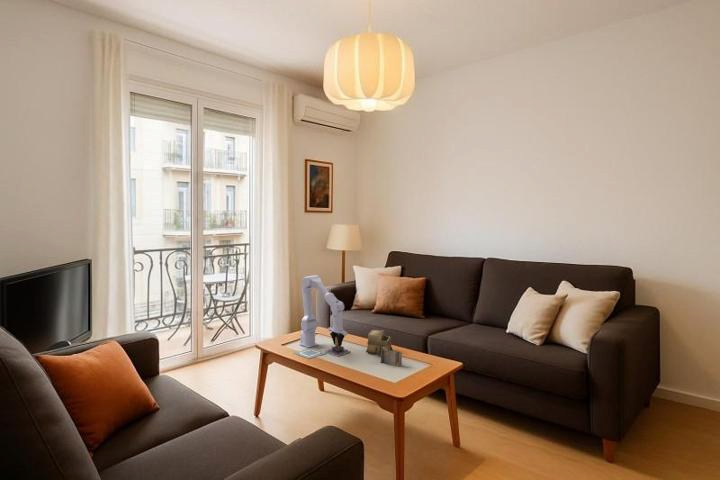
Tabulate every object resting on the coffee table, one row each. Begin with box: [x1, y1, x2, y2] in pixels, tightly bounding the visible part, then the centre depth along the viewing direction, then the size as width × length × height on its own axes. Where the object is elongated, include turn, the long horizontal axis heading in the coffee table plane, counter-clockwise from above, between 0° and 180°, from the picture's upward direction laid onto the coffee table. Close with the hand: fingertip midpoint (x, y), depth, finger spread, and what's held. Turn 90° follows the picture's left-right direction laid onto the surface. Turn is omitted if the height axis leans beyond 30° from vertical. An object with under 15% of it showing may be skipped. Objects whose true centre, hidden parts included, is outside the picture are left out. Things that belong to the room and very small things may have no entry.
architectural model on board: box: [380, 347, 403, 367], centre depth 231 cm, size 11×3×10 cm, turn 60°
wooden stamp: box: [331, 336, 345, 351], centre depth 250 cm, size 5×5×8 cm
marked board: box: [293, 347, 327, 360], centre depth 248 cm, size 14×13×1 cm
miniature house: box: [365, 329, 394, 357], centre depth 251 cm, size 15×14×11 cm
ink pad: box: [324, 348, 352, 357], centre depth 250 cm, size 11×11×1 cm
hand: (337, 345), depth 250 cm, fingers closed on wooden stamp, 3 cm apart
